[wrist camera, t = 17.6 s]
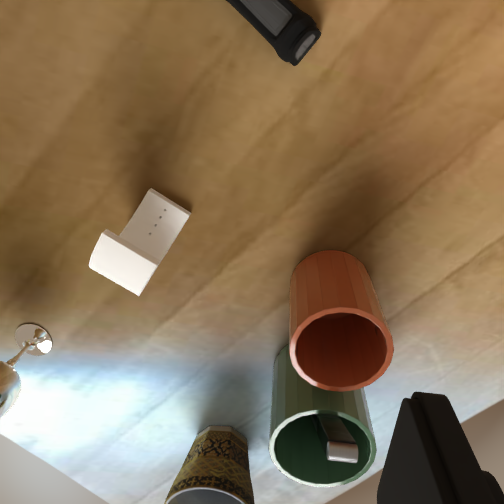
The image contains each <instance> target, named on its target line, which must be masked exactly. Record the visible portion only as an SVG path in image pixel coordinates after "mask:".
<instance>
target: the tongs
mask: <svg viewBox="0 0 504 504" xmlns="http://www.w3.org/2000/svg"><path fill="white" fill-rule="evenodd" d="M310 416H311V418H312V421H313V423H314V426H315V428H316V431H317V435H318V437H319V440H320V442H321V445H322V447H323V450H324V452H325V455H326V457H327V460H331V461H340V462H349V463H357V461H358V447H357V445H356V442H355V440H354V439H353V437H352V436H351V434H350V433H349V431H348V430H347V428H346V427H345V425H344V424H343V422H342V421H341V419H340V418H339V417H338V416H336V415H331V414H311V415H310Z"/></svg>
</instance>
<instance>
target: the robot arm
mask: <svg viewBox="0 0 504 504" xmlns="http://www.w3.org/2000/svg"><path fill="white" fill-rule="evenodd" d="M377 504H504V494H503V492H502V490H501V488H500V486H499V484H498V482H497V481H496V479H495V477H494V476H492V474H490V473H489V472H487V471H482V470H481V468H480V466H479V464H478V462H477V459H476V457H475V455H474V453H473V451H472V449H471V447H470V444H469V442H468V440H467V438H466V436H465V434H464V431H463V429H462V427H461V425H460V423H459V421H458V418H457V416H456V414H455V412H454V410H453V408H452V406H451V403H450V401H449V400H448V398H447V397H446V396H445V395H442V394H433V393H424V392H414V393H413V394H412V397H411V399H410V398H404V399H403V401H402V403H401V407H400V411H399V414H398V418H397V421H396V425H395V429H394V432H393V436H392V439H391V443H390V447H389V450H388V454H387V457H386V461H385V465H384V468H383V472H382V475H381V479H380V483H379V486H378V491H377Z"/></svg>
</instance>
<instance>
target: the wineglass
mask: <svg viewBox="0 0 504 504" xmlns="http://www.w3.org/2000/svg"><path fill="white" fill-rule="evenodd" d="M15 341H16V343H17V345H18V346H19V347H20V348H21V349H22V350H21V351H20V352H19V353H18V354H17V355H16V356H15V357H14V358H12V359H10V360H9V361H7V362H6V363H5V362H3V361H0V419H1V418H2V417H3V416H4V415H5V414H6V413H7V412H8V411H9V410H10V409H11V407H12V406H13V405H14V403H15V402H16V400H17V398H18V397H19V394H20V391H21V380H20V377H19V375H18V373H17V371H16V370H15V369H14V368H15V367H16V365H17V362H18V361H19V359H20V357H21V356H22V355H23V354H24V353H25V352H26V353H28V354H30V355H34V356H42V355H45V354H47V353H48V352H49V351H50V350H51V348H52V340H51V337H50V335H49V334H48V333H47V332H46V331H45V330H44V329H43V328H41V327H40V326H37V325H34V324H23V325H21V326H19V327H18V328H17V330H16V331H15Z"/></svg>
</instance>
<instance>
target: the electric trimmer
mask: <svg viewBox="0 0 504 504" xmlns="http://www.w3.org/2000/svg"><path fill="white" fill-rule="evenodd" d="M226 1H228V2H229V3H230V4H231V5H232V6H233V7H234V8H235V9H236V10H237V11H238V12H239V13H240V14H241V15H242V16H243V17H244V18H246V19H247V20H248V21H249V22H250V23H251V24H252V25H253V26H254V27H255V29H256V30H257V31H258V32H259V33H260V34H261V35H262V36H263V37H264V38H265V39H266V40H267V41H268V42H269V43H270V44H271V45H272V46H273V47H274V49H275V50H276V52H277V54H278V56H279V57H280V58H281V59H282V60H284V61H285V62H290V63H291V64H292V65H293V66H296V65H297V64H298V63H299V62H300V61H301V60H302V58H303V57H304V56H305V55H306V53H307V52H308V51H309V50H310V49H311V47H312V46H313V45H314V44H315V43H316V41H317V40H318V39H319V37H320V36H321V32H320V31H319V29H318V28H317V27H316V23H315V21H314V20H313V19H312V18H311V17H310V16H309V15H307V14H306V13H304V12H302V11H301V10H300V9H299V8H298V7H296V6H295V5H294V4H293V3H292V2H291V1H290V0H226Z"/></svg>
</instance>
